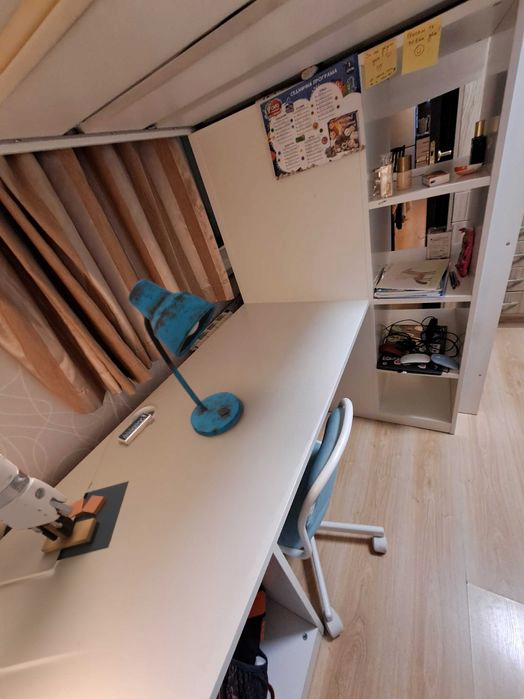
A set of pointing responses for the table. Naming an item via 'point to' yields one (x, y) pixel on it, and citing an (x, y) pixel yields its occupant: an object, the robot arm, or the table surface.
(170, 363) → the desk lamp
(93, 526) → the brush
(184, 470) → the table surface
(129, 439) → the multiport hub
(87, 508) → the orange square tile
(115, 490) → the mat
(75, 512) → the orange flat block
